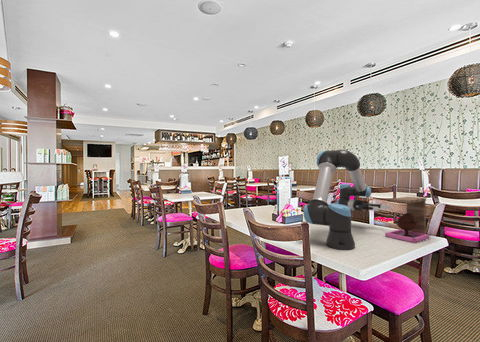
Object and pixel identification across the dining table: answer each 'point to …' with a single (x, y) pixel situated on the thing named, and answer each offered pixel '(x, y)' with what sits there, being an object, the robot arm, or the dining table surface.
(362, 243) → the dining table surface
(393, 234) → the seat plate
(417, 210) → the display shelf
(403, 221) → the ice cream bowl
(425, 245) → the dining table surface
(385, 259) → the dining table surface
